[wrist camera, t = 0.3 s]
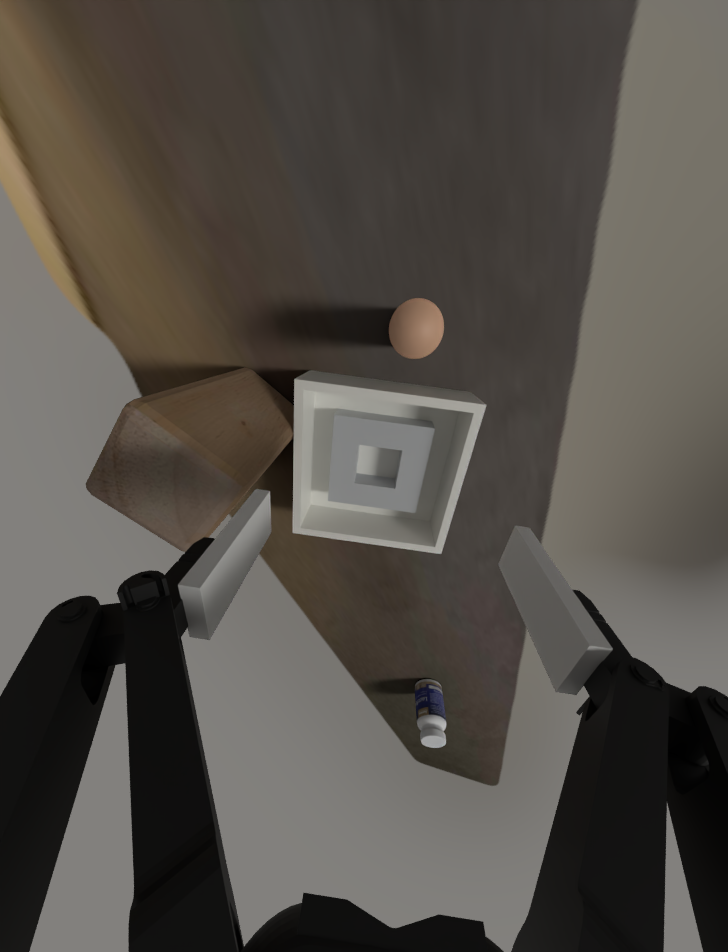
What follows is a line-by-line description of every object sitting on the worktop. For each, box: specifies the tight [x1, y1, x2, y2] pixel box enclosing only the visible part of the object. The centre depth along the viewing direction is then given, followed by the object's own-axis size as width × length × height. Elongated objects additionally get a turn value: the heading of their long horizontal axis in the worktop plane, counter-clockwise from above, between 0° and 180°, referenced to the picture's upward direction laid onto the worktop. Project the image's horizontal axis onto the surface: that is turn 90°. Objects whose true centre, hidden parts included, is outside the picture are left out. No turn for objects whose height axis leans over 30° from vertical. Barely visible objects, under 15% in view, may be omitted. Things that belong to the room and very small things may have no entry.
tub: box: [293, 370, 486, 554], centre depth 39 cm, size 20×20×7 cm
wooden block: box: [86, 367, 294, 552], centre depth 32 cm, size 10×10×20 cm
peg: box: [389, 298, 444, 359], centre depth 28 cm, size 4×4×14 cm
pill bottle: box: [415, 679, 446, 748], centre depth 61 cm, size 6×6×10 cm
